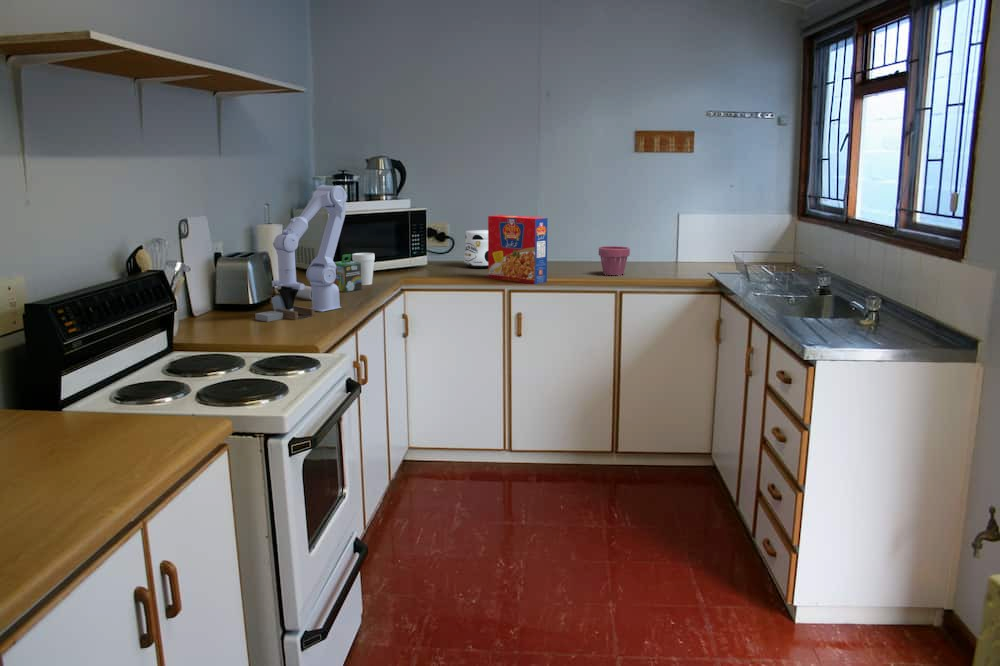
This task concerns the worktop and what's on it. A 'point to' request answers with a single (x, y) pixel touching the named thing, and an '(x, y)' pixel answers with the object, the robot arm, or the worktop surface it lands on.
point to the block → (279, 303)
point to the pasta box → (517, 248)
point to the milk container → (476, 248)
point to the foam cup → (365, 266)
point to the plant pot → (613, 259)
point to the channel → (297, 312)
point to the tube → (304, 293)
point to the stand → (269, 316)
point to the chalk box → (348, 275)
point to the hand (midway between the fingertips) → (289, 308)
